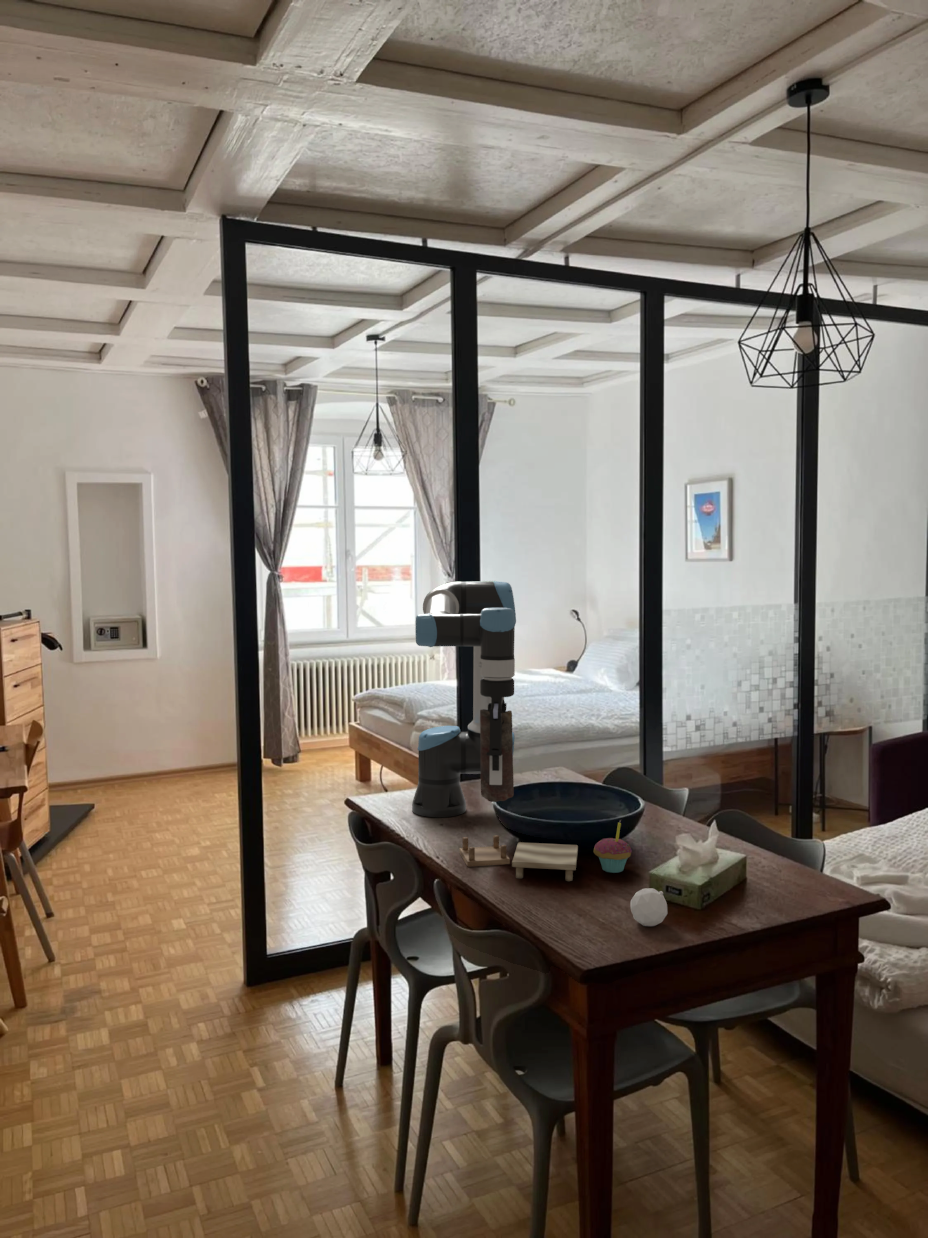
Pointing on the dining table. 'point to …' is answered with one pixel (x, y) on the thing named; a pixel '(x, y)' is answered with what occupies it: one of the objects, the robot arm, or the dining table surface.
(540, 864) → the small wooden stool
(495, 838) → the upturned stool decor
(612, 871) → the cupcake
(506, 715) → the brown wooden log
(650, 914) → the ornament
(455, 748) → the robot arm
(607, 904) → the dining table surface
